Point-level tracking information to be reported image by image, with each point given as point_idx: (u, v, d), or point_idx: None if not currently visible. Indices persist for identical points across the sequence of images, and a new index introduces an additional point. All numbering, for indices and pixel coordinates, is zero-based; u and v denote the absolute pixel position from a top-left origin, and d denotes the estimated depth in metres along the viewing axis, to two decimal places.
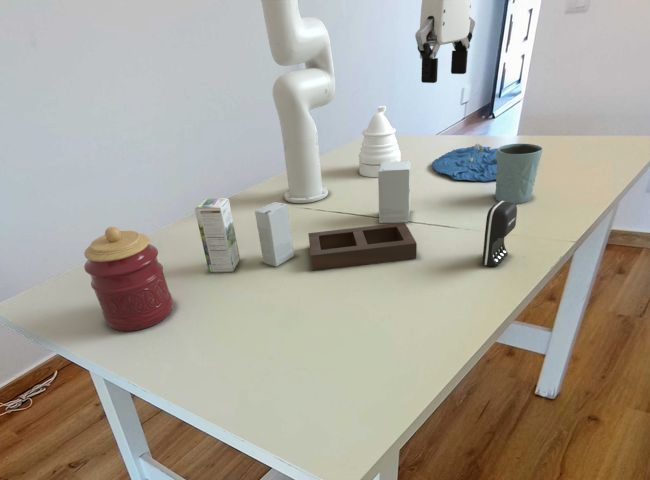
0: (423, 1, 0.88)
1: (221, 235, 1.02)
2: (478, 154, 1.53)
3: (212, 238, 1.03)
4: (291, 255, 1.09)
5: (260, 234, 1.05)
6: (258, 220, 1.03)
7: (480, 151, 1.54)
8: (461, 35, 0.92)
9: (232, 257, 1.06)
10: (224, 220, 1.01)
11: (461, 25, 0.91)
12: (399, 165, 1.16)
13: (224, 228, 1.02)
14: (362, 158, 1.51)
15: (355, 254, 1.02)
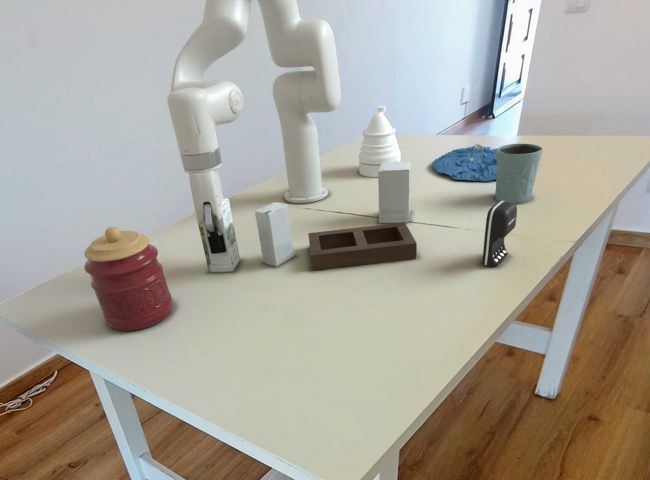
0: (194, 191, 0.95)
1: None
2: (478, 154, 1.53)
3: None
4: (291, 255, 1.09)
5: (260, 234, 1.05)
6: (258, 220, 1.03)
7: (480, 151, 1.54)
8: None
9: (232, 257, 1.06)
10: (224, 220, 1.01)
11: None
12: (399, 165, 1.16)
13: (224, 228, 1.02)
14: (362, 158, 1.51)
15: (355, 254, 1.02)
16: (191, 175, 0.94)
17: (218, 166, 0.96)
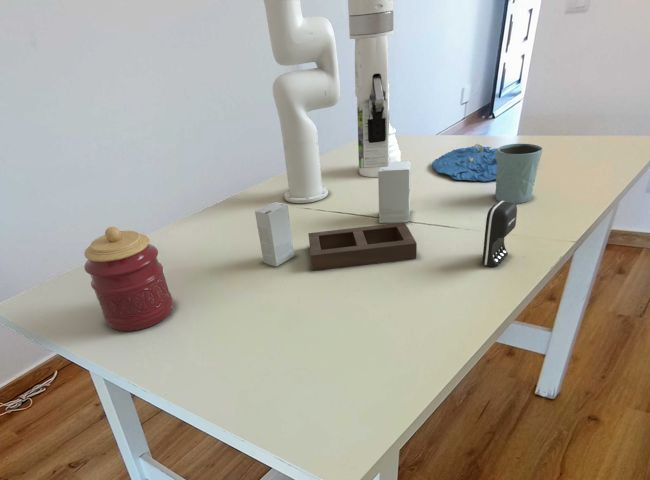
0: (365, 59, 0.83)
1: None
2: (478, 154, 1.53)
3: None
4: (291, 255, 1.09)
5: (260, 234, 1.05)
6: (258, 220, 1.03)
7: (480, 151, 1.54)
8: None
9: (388, 150, 0.95)
10: (388, 101, 0.89)
11: None
12: (399, 165, 1.16)
13: (387, 111, 0.90)
14: None
15: (355, 254, 1.02)
16: (364, 40, 0.82)
17: (392, 32, 0.84)
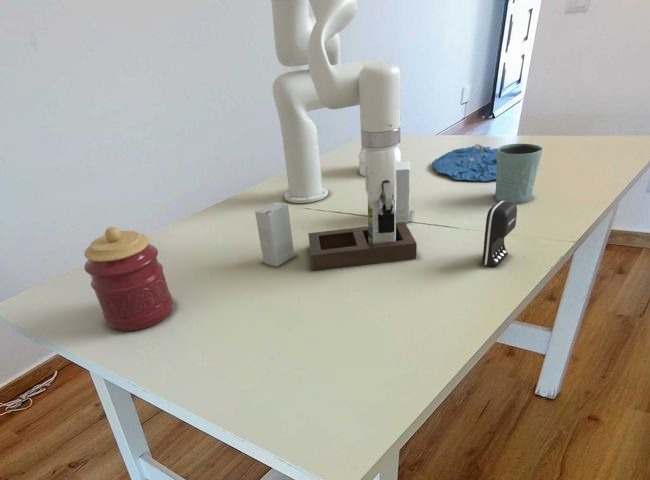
0: (375, 169, 0.94)
1: None
2: (478, 154, 1.53)
3: None
4: (291, 255, 1.09)
5: (260, 234, 1.05)
6: (258, 220, 1.03)
7: (480, 151, 1.54)
8: None
9: None
10: (395, 201, 1.00)
11: None
12: (399, 165, 1.16)
13: (394, 210, 1.00)
14: (362, 158, 1.51)
15: (355, 254, 1.02)
16: (375, 153, 0.93)
17: (399, 144, 0.94)
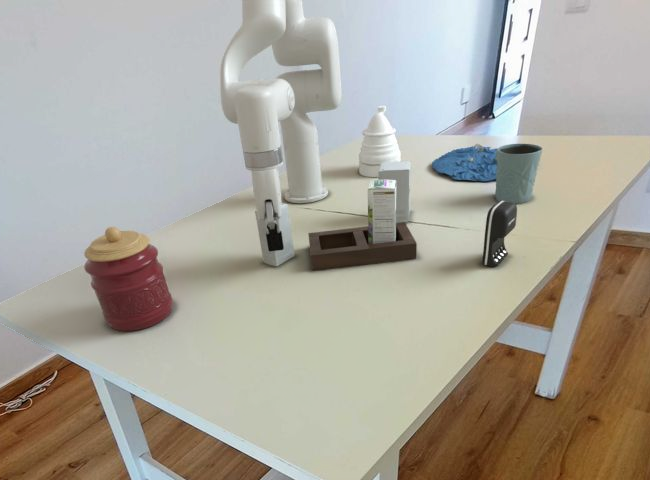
0: (256, 188, 0.96)
1: (390, 217, 1.01)
2: (478, 154, 1.53)
3: (380, 220, 1.02)
4: (291, 255, 1.09)
5: (260, 234, 1.05)
6: (258, 220, 1.03)
7: (480, 151, 1.54)
8: None
9: (395, 240, 1.05)
10: (395, 201, 1.00)
11: None
12: (399, 165, 1.16)
13: (394, 210, 1.00)
14: (362, 158, 1.51)
15: (355, 254, 1.02)
16: (255, 173, 0.94)
17: (280, 164, 0.96)
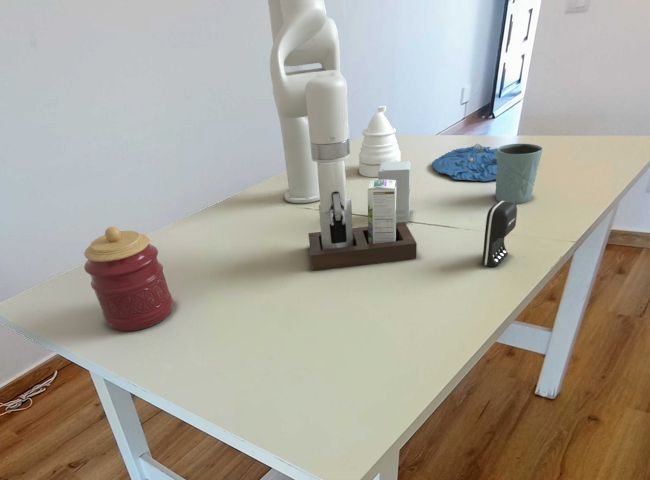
0: (324, 180, 0.95)
1: (390, 217, 1.01)
2: (478, 154, 1.53)
3: (380, 220, 1.02)
4: None
5: (322, 228, 1.04)
6: (321, 214, 1.02)
7: (480, 151, 1.54)
8: None
9: None
10: (395, 201, 1.00)
11: None
12: (399, 165, 1.16)
13: (394, 210, 1.00)
14: (362, 158, 1.51)
15: (355, 254, 1.02)
16: (323, 164, 0.93)
17: (348, 156, 0.95)
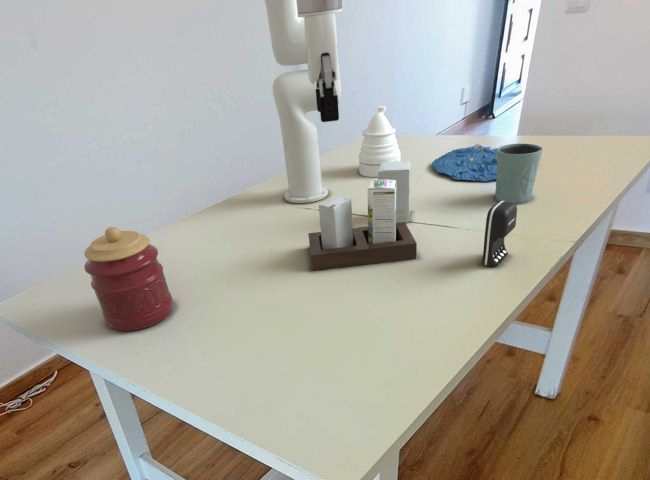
0: (312, 38, 0.81)
1: (390, 217, 1.01)
2: (478, 154, 1.53)
3: (380, 220, 1.02)
4: None
5: (322, 228, 1.04)
6: (322, 214, 1.02)
7: (480, 151, 1.54)
8: None
9: None
10: (395, 201, 1.00)
11: None
12: (399, 165, 1.16)
13: (394, 210, 1.00)
14: (362, 158, 1.51)
15: (355, 254, 1.02)
16: (311, 17, 0.80)
17: (340, 10, 0.82)
